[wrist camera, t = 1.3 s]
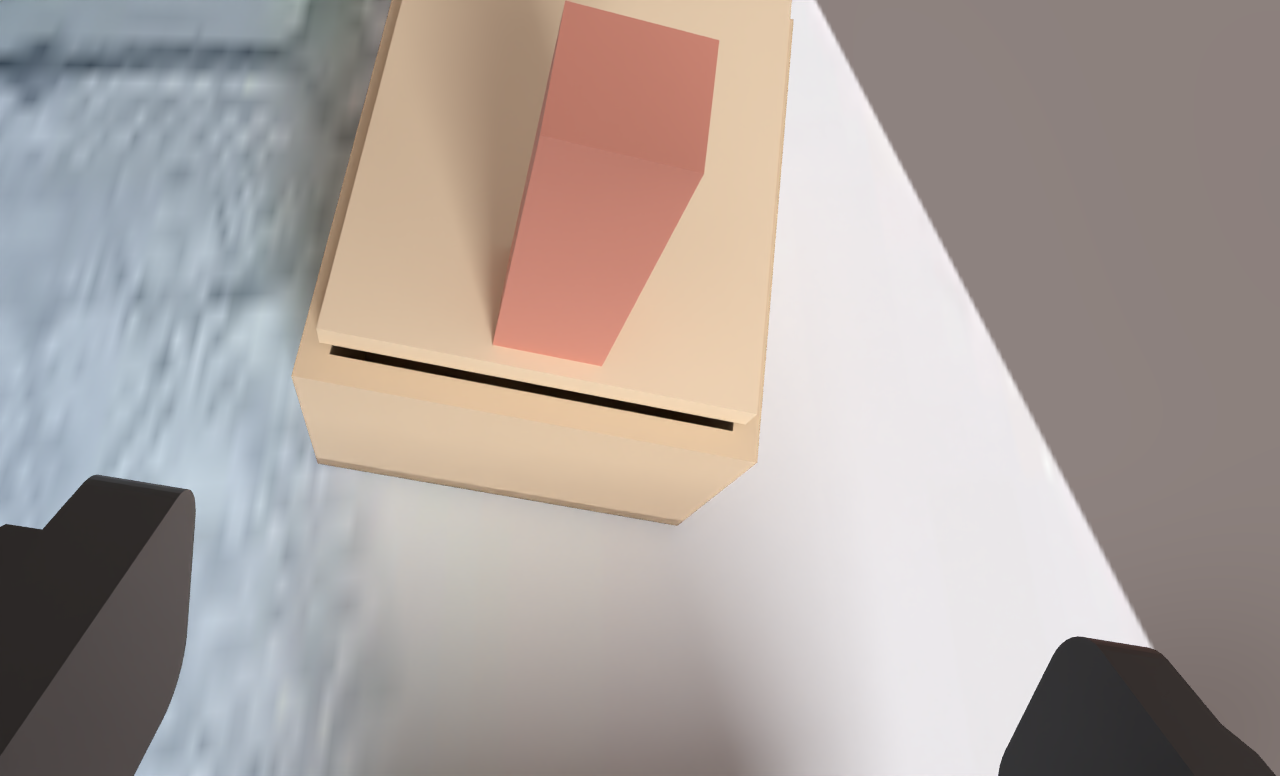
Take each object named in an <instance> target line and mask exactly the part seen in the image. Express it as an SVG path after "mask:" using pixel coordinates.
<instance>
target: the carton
mask: <svg viewBox="0 0 1280 776" xmlns="http://www.w3.org/2000/svg"><path fill="white" fill-rule="evenodd" d="M401 3H402V0H392V1H391V5H390V8H389V12H388V16H387V20H386V23H385V27H384V31H383V35H382V38H381V42H380V46H379V50H378V53H377V57H376V61H375V65H374V68H373V72H372V76H371V80H370V83H369V87H368V91H367V94H366V98H365V102H364V106H363V109H362V113H361V117H360V121H359V124H358V128H357V132H356V136H355V139H354V143H353V147H352V151H351V154H350V158H349V162H348V166H347V169H346V173H345V177H344V181H343V184H342V188H341V192H340V196H339V199H338V203H337V207H336V211H335V214H334V218H333V222H332V226H331V229H330V233H329V237H328V241H327V244H326V248H325V252H324V256H323V259H322V263H321V267H320V271H319V274H318V278H317V282H316V286H315V289H314V293H313V297H312V301H311V304H310V308H309V312H308V316H307V319H306V323H305V327H304V331H303V334H302V338H301V342H300V346H299V349H298V353H297V357H296V361H295V364H294V368H293V372H292V380H293V383H294V386H295V389H296V393H297V396H298V399H299V403H300V406H301V409H302V413H303V416H304V419H305V422H306V426H307V429H308V432H309V436H310V439H311V442H312V446H313V449H314V452H315V455H316V459H317V462H318V464H324V465H330V466H336V467H341V468H347V469H353V470H359V471H364V472H370V473H376V474H382V475H388V476H393V477H399V478H405V479H411V480H416V481H422V482H428V483H434V484H440V485H445V486H451V487H457V488H463V489H468V490H474V491H480V492H486V493H492V494H497V495H503V496H509V497H515V498H520V499H526V500H532V501H538V502H544V503H549V504H555V505H561V506H567V507H572V508H578V509H584V510H590V511H596V512H601V513H607V514H613V515H619V516H624V517H630V518H636V519H642V520H648V521H653V522H659V523H665V524H671V525H676V526H677V525H679V524H680V523H681V522H683V521H684V520H685V519H686V518H688V517H689V516H690V515H691V514H693V513H694V512H695V511H697V510H698V509H699V508H700V507H702V506H703V505H704V504H705V503H707V502H708V501H709V500H710V499H712V498H713V497H714V496H716V495H717V494H718V493H719V492H721V491H722V490H723V489H724V488H726V487H727V486H728V485H729V484H731V483H732V482H733V481H735V480H736V479H737V478H738V477H740V476H741V475H742V474H743V473H745V472H746V471H747V470H749V469H750V468H751V467H752V466H754V465H755V464H756V463H757V458H758V446H759V433H760V421H761V409H762V397H763V385H764V372H765V360H766V348H767V336H768V324H769V311H770V299H771V287H772V275H773V263H774V251H775V238H776V226H777V214H778V202H779V190H780V177H781V165H782V153H783V141H784V129H785V116H786V104H787V92H788V80H789V68H790V55H791V43H792V31H793V19H790V27H789V39H788V51H787V63H786V75H785V87H784V99H783V111H782V123H781V135H780V147H779V159H778V171H777V183H776V195H775V207H774V219H773V231H772V243H771V255H770V266H769V278H768V290H767V302H766V314H765V326H764V338H763V350H762V362H761V374H760V386H759V398H758V410H757V415H756V416H755V417H754V418H752V419H751V420H750V421H749V422H748V423H747V424H746V425H745V424H740V423H734V422H729V421H724V420H719V419H714V418H708V417H703V416H698V415H693V414H688V413H683V412H677V411H672V410H667V409H662V408H657V407H651V406H646V405H641V404H636V403H631V402H625V401H620V400H615V399H610V398H605V397H599V396H594V395H589V394H584V393H579V392H574V391H568V390H563V389H558V388H553V387H548V386H542V385H537V384H532V383H527V382H522V381H516V380H511V379H506V378H501V377H496V376H490V375H485V374H480V373H475V372H470V371H465V370H459V369H454V368H449V367H444V366H439V365H433V364H428V363H423V362H418V361H413V360H407V359H402V358H397V357H392V356H387V355H381V354H376V353H371V352H366V351H361V350H356V349H350V348H345V347H340V346H335V345H330V344H324V343H319V339H318V334H317V329H316V327H317V323H318V320H319V316H320V312H321V308H322V304H323V301H324V297H325V293H326V289H327V285H328V281H329V278H330V274H331V270H332V266H333V262H334V259H335V255H336V251H337V247H338V243H339V239H340V236H341V232H342V228H343V224H344V220H345V217H346V213H347V209H348V205H349V201H350V197H351V194H352V190H353V186H354V182H355V178H356V175H357V171H358V167H359V163H360V159H361V156H362V152H363V148H364V144H365V140H366V136H367V133H368V129H369V125H370V121H371V117H372V114H373V110H374V106H375V102H376V98H377V94H378V91H379V87H380V83H381V79H382V75H383V72H384V68H385V64H386V60H387V56H388V52H389V49H390V45H391V41H392V37H393V33H394V30H395V26H396V22H397V18H398V14H399V10H400V7H401Z"/></svg>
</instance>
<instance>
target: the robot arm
mask: <svg viewBox="0 0 1280 776" xmlns="http://www.w3.org/2000/svg"><path fill="white" fill-rule="evenodd" d="M195 512H196V509H195V498H194V495H193V493H192V491H191V490H188V489H182V488H176V487H170V486H164V485H158V484H151V483H145V482H139V481H133V480H127V479H121V478H114V477H108V476H102V475H93V476H91V477H90V478H88V479H87V480H86V481H85V482H84V483H83V484H82V485H81V486H80V487H79V489H78V490H77V491H76V492H75V493H74V494H73V495H72V497H71V498H70V499H69V500H68V501H67V502H66V503H65V504H64V506H63V507H62V508H61V509H60V510H59V511H58V512H57V514H56V515H55V516H54V517H53V518H52V519H51V520H50V522H49V523H48V524H47V525H46V526H45V527H44V528H43V530H41V529H35V528H28V527H22V526H15V525H8V524H5V525H3V526H1V527H0V776H134V774H135V772H136V770H137V769H138V767H139V765H140V763H141V761H142V759H143V757H144V755H145V753H146V751H147V749H148V747H149V745H150V743H151V741H152V739H153V737H154V735H155V733H156V731H157V729H158V728H159V726H160V724H161V722H162V720H163V718H164V716H165V714H166V711H167V709H168V707H169V704H170V702H171V699H172V696H173V694H174V691H175V688H176V685H177V681H178V678H179V674H180V670H181V666H182V662H183V657H184V652H185V646H186V638H187V626H188V612H189V598H190V584H191V571H192V557H193V543H194V529H195ZM998 776H1276V775H1275V774H1274V773H1273V772H1272V771H1271V769H1270V768H1269V767H1268V766H1267V765H1266V763H1265V762H1264V761H1263V760H1262V759H1261V757H1260V756H1259V755H1258V754H1257V753H1256V752H1255V751H1253V750H1252V749H1251V748H1250V747H1249V746H1247V745H1246V744H1245V743H1244V742H1242V741H1241V740H1240V739H1239V738H1237V737H1236V736H1235V735H1234V734H1232V733H1231V732H1230V731H1229V730H1228V729H1226V728H1225V727H1224V726H1223V725H1222V724H1221V723H1220V722H1219V721H1218V720H1217V718H1216V717H1215V716H1214V715H1213V714H1212V712H1211V711H1210V710H1209V709H1208V708H1207V707H1206V705H1205V704H1204V703H1203V702H1202V700H1201V699H1200V698H1199V697H1198V696H1197V695H1196V693H1195V692H1194V691H1193V690H1192V689H1191V687H1190V686H1189V685H1188V684H1187V682H1186V681H1185V680H1184V679H1183V678H1182V677H1181V675H1180V674H1179V673H1178V672H1177V671H1176V669H1175V668H1174V667H1173V666H1172V665H1171V663H1170V662H1169V661H1168V660H1167V659H1166V658H1165V657H1164V656H1163V655H1162V654H1161V653H1159V652H1158V651H1156V650H1154V649H1151V648H1147V647H1141V646H1135V645H1129V644H1123V643H1116V642H1110V641H1104V640H1098V639H1092V638H1086V637H1072V638H1070V639H1068V640H1066V641H1065V642H1063V643H1062V644H1061V645H1060V646H1059V647H1058V649H1057V650H1056V651H1055V653H1054V655H1053V656H1052V658H1051V660H1050V662H1049V664H1048V666H1047V668H1046V670H1045V672H1044V674H1043V676H1042V678H1041V680H1040V682H1039V684H1038V686H1037V688H1036V690H1035V692H1034V694H1033V696H1032V698H1031V700H1030V702H1029V704H1028V706H1027V708H1026V710H1025V712H1024V714H1023V716H1022V718H1021V720H1020V722H1019V724H1018V726H1017V728H1016V730H1015V732H1014V734H1013V736H1012V738H1011V740H1010V742H1009V744H1008V746H1007V748H1006V750H1005V752H1004V755H1003V757H1002V760H1001V764H1000V768H999V774H998Z"/></svg>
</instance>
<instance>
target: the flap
mask: <svg viewBox="0 0 1280 776" xmlns="http://www.w3.org/2000/svg"><path fill="white" fill-rule="evenodd" d="M791 3H792V0H402V3H401V7H400V10H399V14H398V18H397V22H396V26H395V30H394V33H393V37H392V41H391V45H390V49H389V52H388V56H387V60H386V64H385V68H384V72H383V75H382V79H381V83H380V87H379V91H378V94H377V98H376V102H375V106H374V110H373V114H372V117H371V121H370V125H369V129H368V133H367V136H366V140H365V144H364V148H363V152H362V156H361V159H360V163H359V167H358V171H357V175H356V178H355V182H354V186H353V190H352V194H351V197H350V201H349V205H348V209H347V213H346V217H345V220H344V224H343V228H342V232H341V236H340V239H339V243H338V247H337V251H336V255H335V259H334V262H333V266H332V270H331V274H330V278H329V281H328V285H327V289H326V293H325V297H324V301H323V304H322V308H321V312H320V316H319V320H318V323H317V327H316V329H317V334H318V339H319V343H324V344H330V345H335V346H340V347H345V348H350V349H356V350H361V351H366V352H371V353H376V354H381V355H387V356H392V357H397V358H402V359H407V360H413V361H418V362H423V363H428V364H433V365H439V366H444V367H449V368H454V369H459V370H465V371H470V372H475V373H480V374H485V375H490V376H496V377H501V378H506V379H511V380H516V381H522V382H527V383H532V384H537V385H542V386H548V387H553V388H558V389H563V390H568V391H574V392H579V393H584V394H589V395H594V396H599V397H605V398H610V399H615V400H620V401H625V402H631V403H636V404H641V405H646V406H651V407H657V408H662V409H667V410H672V411H677V412H683V413H688V414H693V415H698V416H703V417H708V418H714V419H719V420H724V421H729V422H734V423H740V424H745V425H746V424H747V423H748V422H749V421H750V420H751V419H752V418H754V417H755V416H756V415H757V410H758V398H759V386H760V374H761V362H762V350H763V338H764V326H765V314H766V302H767V290H768V278H769V266H770V255H771V243H772V231H773V219H774V207H775V195H776V183H777V171H778V159H779V147H780V135H781V123H782V111H783V99H784V87H785V75H786V63H787V51H788V39H789V27H790V15H791Z"/></svg>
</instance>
